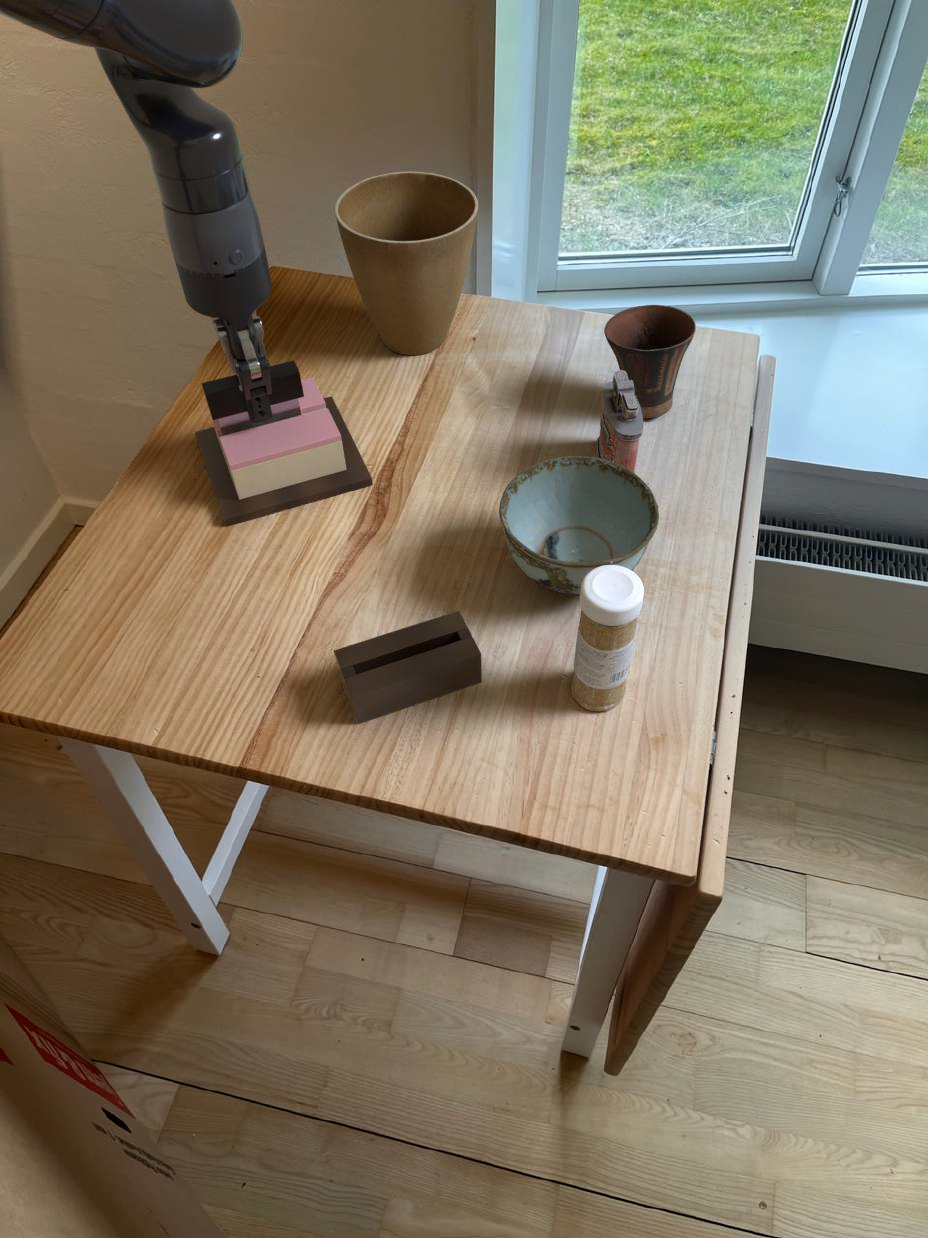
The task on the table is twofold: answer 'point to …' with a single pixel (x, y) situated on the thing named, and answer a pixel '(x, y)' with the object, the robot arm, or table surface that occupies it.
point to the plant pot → (409, 253)
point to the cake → (283, 453)
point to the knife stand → (408, 666)
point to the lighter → (620, 422)
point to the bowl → (576, 519)
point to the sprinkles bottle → (605, 636)
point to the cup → (651, 351)
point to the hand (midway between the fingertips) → (258, 410)
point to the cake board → (285, 496)
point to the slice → (307, 403)
